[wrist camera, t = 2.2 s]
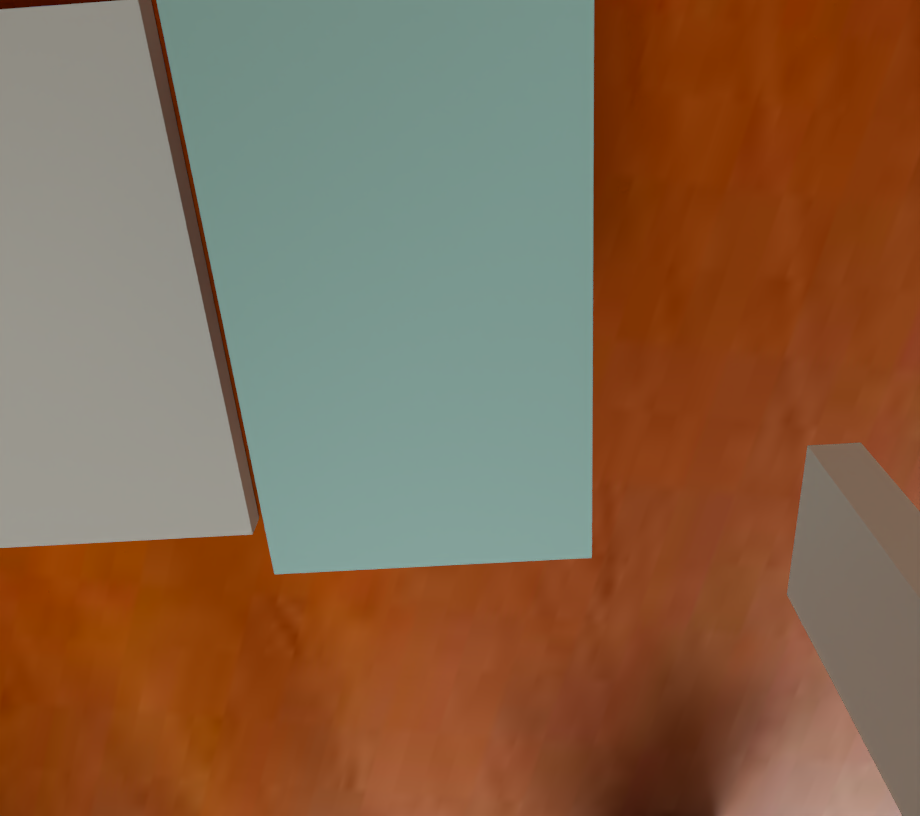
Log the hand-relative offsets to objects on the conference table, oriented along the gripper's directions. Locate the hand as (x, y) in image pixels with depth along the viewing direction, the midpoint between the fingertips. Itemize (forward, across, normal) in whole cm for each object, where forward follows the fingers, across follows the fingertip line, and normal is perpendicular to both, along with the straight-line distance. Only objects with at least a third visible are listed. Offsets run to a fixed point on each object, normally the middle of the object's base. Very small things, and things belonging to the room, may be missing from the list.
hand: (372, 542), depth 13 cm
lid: (+12, 0, 0) cm, 12 cm away
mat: (+19, +14, +2) cm, 24 cm away
